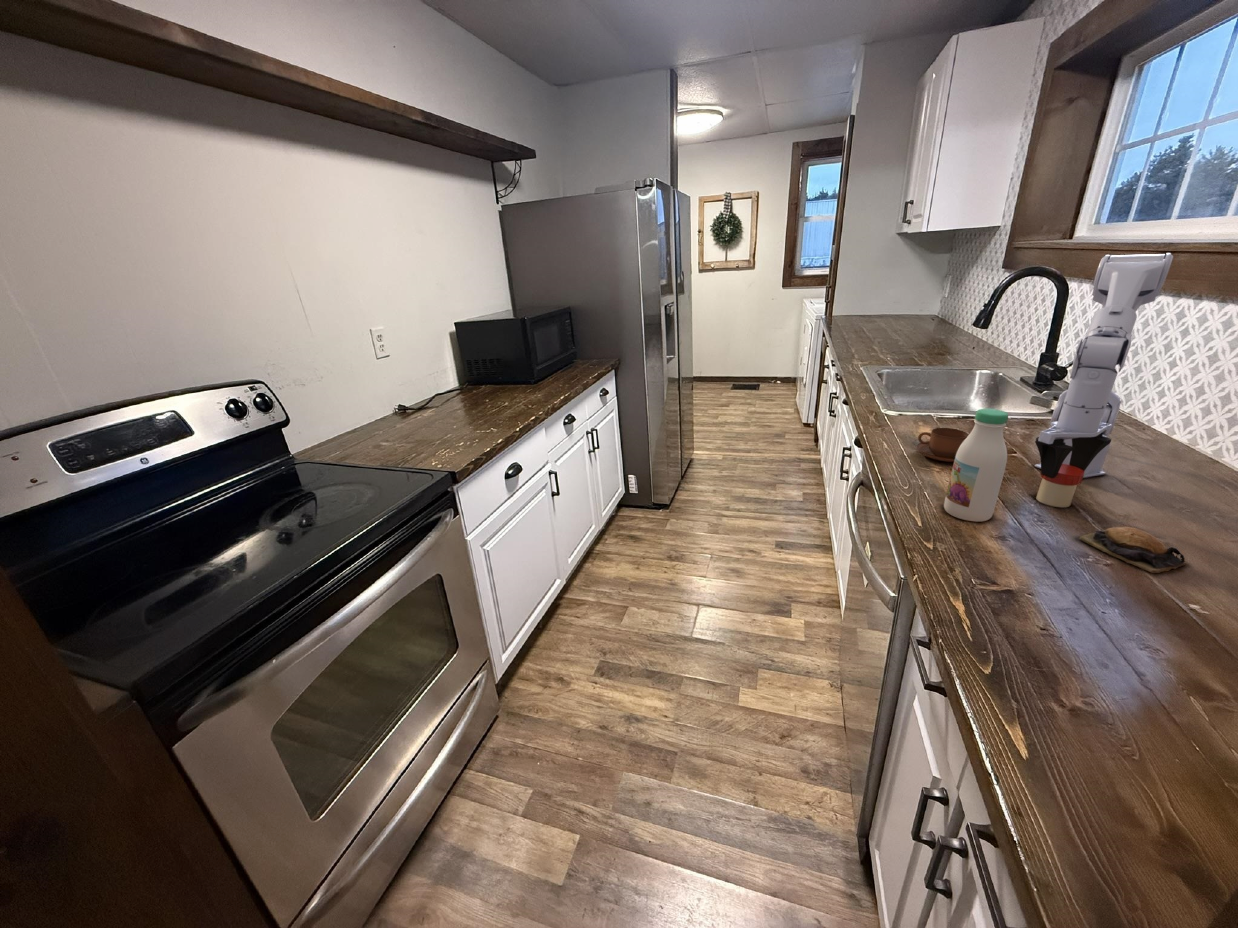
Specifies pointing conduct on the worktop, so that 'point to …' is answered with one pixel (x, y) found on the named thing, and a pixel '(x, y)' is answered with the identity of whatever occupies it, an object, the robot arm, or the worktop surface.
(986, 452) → the milk bottle
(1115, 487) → the worktop surface
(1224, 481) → the worktop surface
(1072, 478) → the honey lid
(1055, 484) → the honey jar
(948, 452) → the cup and saucer
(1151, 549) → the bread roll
